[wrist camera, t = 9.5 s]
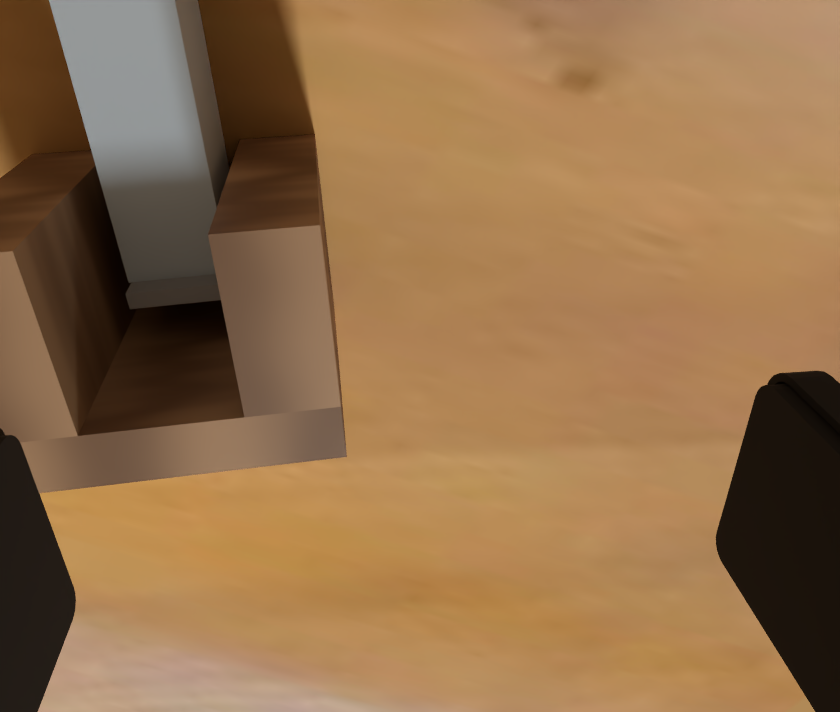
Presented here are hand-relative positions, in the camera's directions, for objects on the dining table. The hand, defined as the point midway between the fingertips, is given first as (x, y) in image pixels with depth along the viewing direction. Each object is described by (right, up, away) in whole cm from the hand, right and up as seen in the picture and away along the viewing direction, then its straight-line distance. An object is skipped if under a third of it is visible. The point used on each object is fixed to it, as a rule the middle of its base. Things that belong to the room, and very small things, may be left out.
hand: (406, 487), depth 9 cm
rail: (-10, +13, +17) cm, 24 cm away
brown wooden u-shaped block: (-9, +7, +21) cm, 24 cm away
